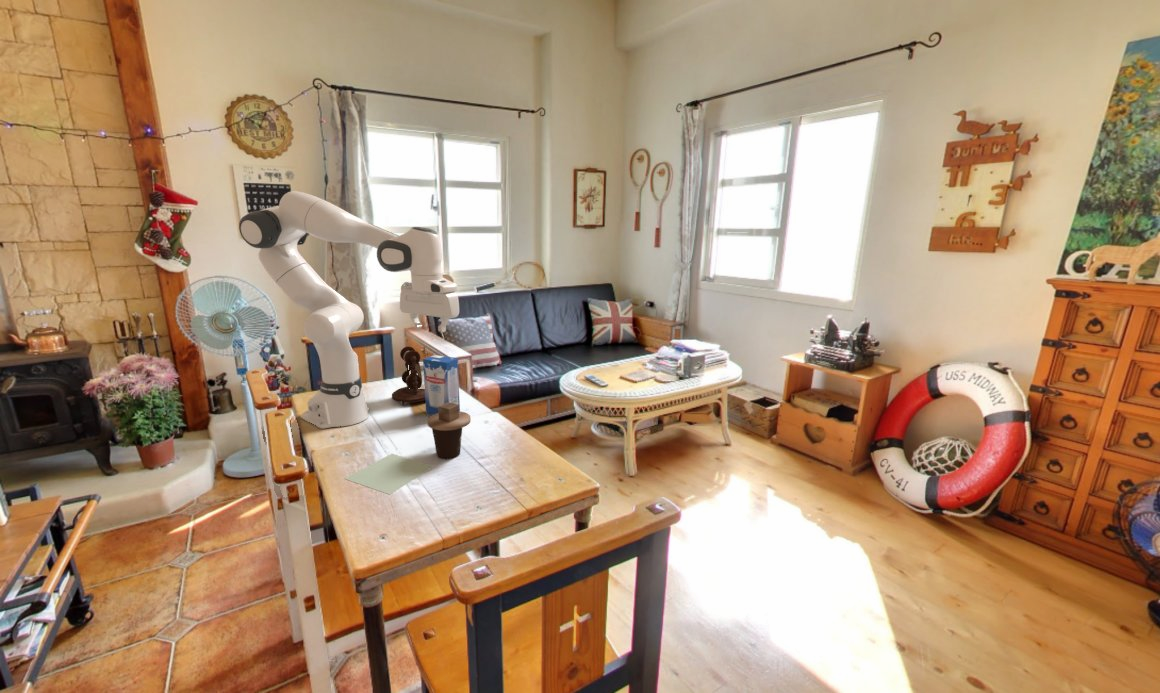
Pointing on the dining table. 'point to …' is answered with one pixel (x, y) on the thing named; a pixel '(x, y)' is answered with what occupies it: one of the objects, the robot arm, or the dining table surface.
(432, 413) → the milk carton
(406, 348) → the dark brown tall piece
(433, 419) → the lid
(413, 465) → the mat
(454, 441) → the coffee mug
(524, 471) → the dining table surface
